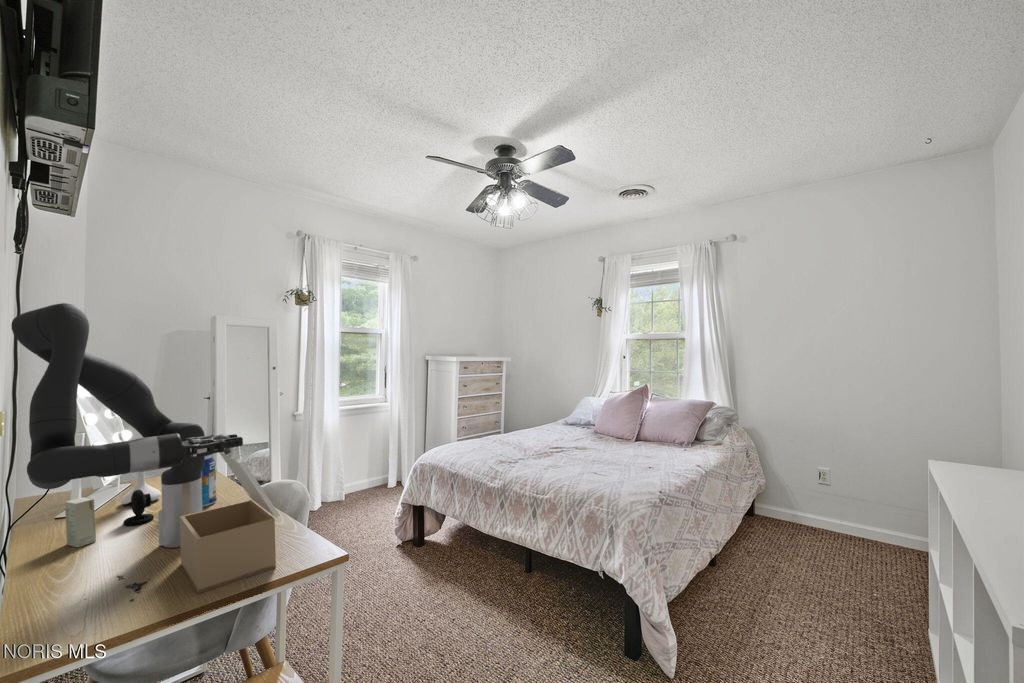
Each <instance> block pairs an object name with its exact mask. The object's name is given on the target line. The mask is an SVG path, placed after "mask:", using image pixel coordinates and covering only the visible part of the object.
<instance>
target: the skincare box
mask: <svg viewBox="0 0 1024 683" xmlns="http://www.w3.org/2000/svg"><path fill="white" fill-rule="evenodd" d="M64 511H65V512H64V513H65V531H66V535H65V536H66V545H68V546H71V547H74V548H80V547H83V546H86V545H89V544H92V543H94V542H97V535H96V534H97V532H96V515H95V499H94V498H90V497H77V498H75V499H71V500H66V501H64Z"/></svg>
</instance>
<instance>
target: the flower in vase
mask: <svg viewBox="0 0 1024 683" xmlns="http://www.w3.org/2000/svg"><path fill="white" fill-rule="evenodd" d="M135 473H136V484H135V485H134V487H133V488H132V489H130V490H129V491H128V492H126V493H125V494H124V495H123V496H122V497H121V499H120V504H122V505H124V504H127V503H129V502H131V497H132V494H133V492H134V491H136V490H141V491H142V492H143V493H144V494H150V496H151V502H153V501H155V500H157V499H159V498H161V497H162V491H160V490H159V489H157V488H155V487H154V486H151V485H149V484H148V483H147V482H146V471H145V472H135Z"/></svg>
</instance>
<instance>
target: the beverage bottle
mask: <svg viewBox="0 0 1024 683" xmlns="http://www.w3.org/2000/svg"><path fill="white" fill-rule="evenodd" d="M212 456H213V454H209V455H205V462H204V467H203V469H202V473H201V477H202V508H203V507H208V506H211V505H213V504H215V503H216V502H217V500H218V498H217V469H216V465H217V463H216V461H215V459H214V458H213V457H212Z"/></svg>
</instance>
